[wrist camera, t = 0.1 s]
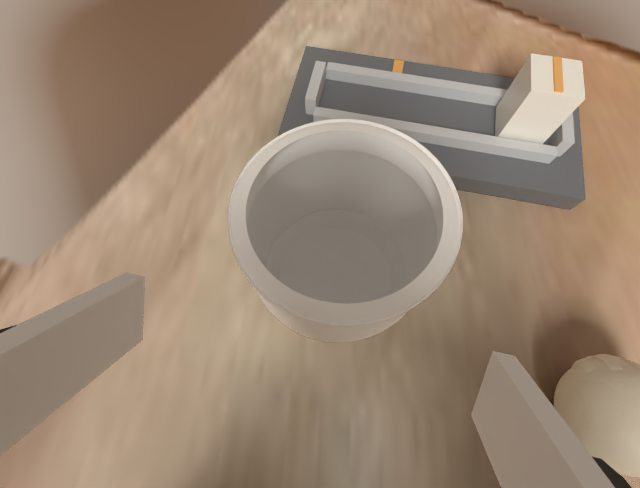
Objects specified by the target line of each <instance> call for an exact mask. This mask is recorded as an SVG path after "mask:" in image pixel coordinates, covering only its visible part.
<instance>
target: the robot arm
mask: <svg viewBox="0 0 640 488" xmlns="http://www.w3.org/2000/svg"><path fill="white" fill-rule="evenodd" d="M144 292H145V277H144V276H140V275H135V274H130V273H125V274H123V275H121V276H119V277H116V278H114V279H112V280H110V281H108V282H106V283H104V284H102V285H100V286H98V287H96V288H94V289H92V290H89V291H87V292H85V293H83V294H81V295H79V296H77V297H75V298H73V299H71V300H69V301H67V302H64V303H62V304H60V305H58V306H56V307H54V308H52V309H50V310H48V311H46V312H44V313H42V314H40V315H37V316H35V317H33V318H31V319H29V320H27V321H25V322H23V323H21V324H19V325H15V326H11V327H8V328H4V329H1V330H0V456H1V455H2V454H4V453H5V452H6V451H7V450H9V449H10V448H11V447H12V446H13V445H15V444H16V443H17V442H18V441H20V440H21V439H22V438H23V437H24V436H26V435H27V434H28V433H29V432H31V431H32V430H33V429H34V428H35V427H37V426H38V425H39V424H40V423H42V422H43V421H44V420H45V419H46V418H48V417H49V416H50V415H51V414H53V413H54V412H55V411H56V410H57V409H59V408H60V407H61V406H62V405H64V404H65V403H66V402H67V401H68V400H70V399H71V398H72V397H73V396H75V395H76V394H77V393H78V392H79V391H81V390H82V389H83V388H84V387H86V386H87V385H88V384H89V383H90V382H92V381H93V380H94V379H95V378H97V377H98V376H99V375H100V374H101V373H103V372H104V371H105V370H106V369H108V368H109V367H110V366H111V365H112V364H114V363H115V362H116V361H117V360H119V359H120V358H121V357H122V356H123V355H125V354H126V353H127V352H128V351H130V350H131V349H132V348H133V347H134V346H136V345H137V344H138V343H139V342H141V341H142V340H143V318H144ZM471 416H472V419H473V421H474V424H475V426H476V429H477V431H478V433H479V436H480V438H481V441H482V443H483V445H484V448H485V450H486V453H487V455H488V458H489V460H490V462H491V465H492V467H493V470H494V472H495V474H496V477H497V479H498V482H499V484H500V487H501V488H631V486H630V485H629V484H628V483H627V482H626V480H625V479H624V478H623V477H622V476H621V475H620V474H618V473H617V472H616V471H615V470H614V469H613V468H611V467H610V466H609V465H608V464H607V463H606V462H605V461H603V460H602V459H601V458H596V457H592V456H591V455H590V454H589V453H588V451H587V450H586V449H585V447H584V446H583V445H582V443H581V442H580V441H579V439H578V438H577V437H576V435H575V434H574V433H573V432H572V430H571V429H570V428H569V426H568V425H567V424H566V422H565V421H564V420H563V418H562V417H561V416H560V414H559V413H558V412H557V410H556V409H555V408H554V407H553V405H552V404H551V403H550V401H549V400H548V399H547V397H546V396H545V395H544V393H543V392H542V391H541V389H540V388H539V387H538V386H537V384H536V383H535V382H534V380H533V379H532V378H531V376H530V375H529V374H528V372H527V371H526V370H525V368H524V367H523V366H522V364H521V363H520V362H519V361H518V359H517V358H516V357H515V356H514V355H509V354H505V353H500V352H495V351H493V352H492V354H491V357H490V360H489V363H488V366H487V369H486V372H485V375H484V378H483V381H482V384H481V387H480V390H479V393H478V396H477V399H476V402H475V404H474V407H473V410H472V413H471Z"/></svg>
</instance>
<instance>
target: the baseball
mask: <svg viewBox="0 0 640 488" xmlns="http://www.w3.org/2000/svg"><path fill="white" fill-rule="evenodd" d="M554 408H555V409H556V410H557V412H558V413H559V414H560V416H561V417H562V418H563V420H564V421H565V422H566V424H567V425H568V426H569V428H570V429H571V430H572V432H573V433H574V434H575V435H576V437H577V438H578V439H579V441H580V442H581V443H582V445H583V446H584V447H585V449H586V450H587V451H588V453H589V454H590V455H591V456H592V457H596V458H601V459H602V460H603V461H605V462H606V463H607V464H608V465H609V466H610V467H611V468H613V469H614V470H615V471H616V472H617V473H618V474H621V475H625V476H630V477H640V365H639V364H637V363H635V362H633V361H630V360H628V359H625V358H623V357H615V356H612V355H608V354H598V355H595V356H588V357H585V358H582V359H579V360H577V361H575V362H574V364H573V365H572V368H571V369H569V370H568V371H567V372H566V373H565V374H564V375H563V376H562V377H561V378H560V380H559V382H558V384H557V386H556V390H555V394H554Z"/></svg>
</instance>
